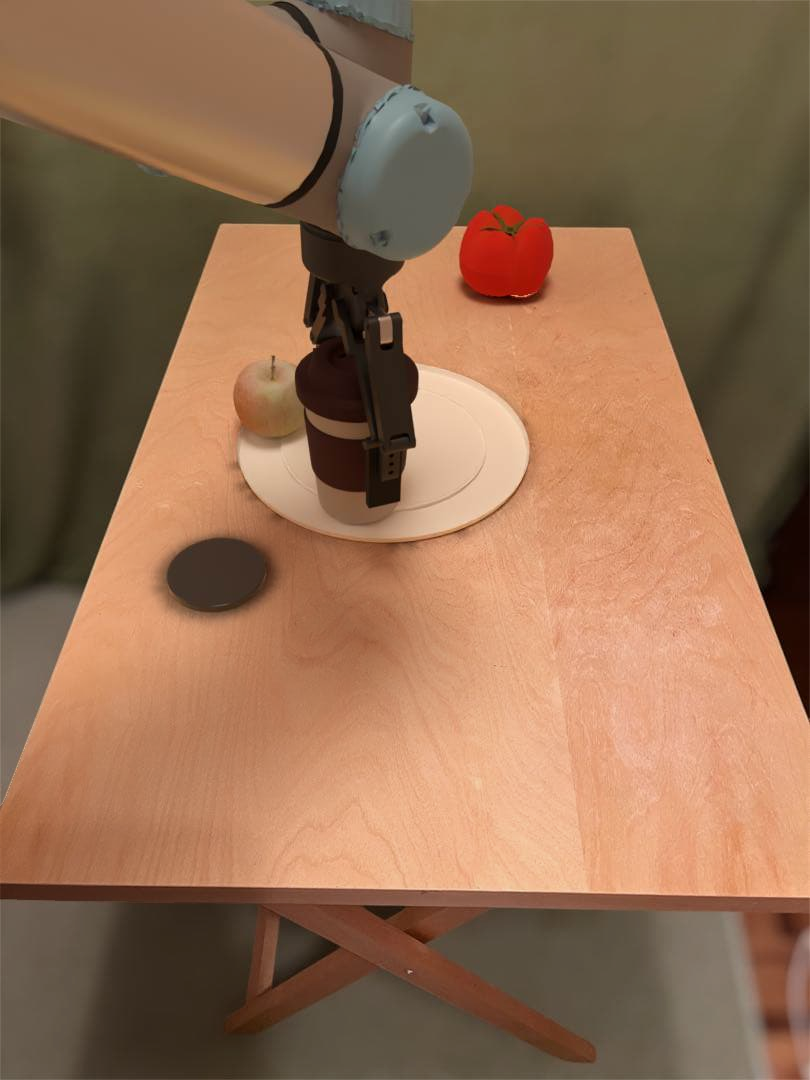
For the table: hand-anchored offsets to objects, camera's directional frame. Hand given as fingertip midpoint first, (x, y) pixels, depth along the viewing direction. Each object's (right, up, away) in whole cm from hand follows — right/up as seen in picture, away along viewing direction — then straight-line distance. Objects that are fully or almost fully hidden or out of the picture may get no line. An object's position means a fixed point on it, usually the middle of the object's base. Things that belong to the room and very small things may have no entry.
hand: (355, 454), depth 78 cm
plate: (+2, +2, +10) cm, 10 cm away
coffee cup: (0, -4, +4) cm, 6 cm away
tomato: (+16, +23, +34) cm, 44 cm away
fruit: (-9, +3, +11) cm, 15 cm away
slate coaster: (-11, -10, -3) cm, 16 cm away
